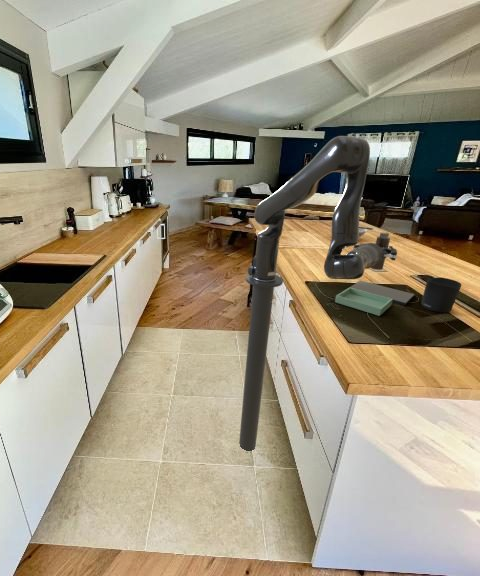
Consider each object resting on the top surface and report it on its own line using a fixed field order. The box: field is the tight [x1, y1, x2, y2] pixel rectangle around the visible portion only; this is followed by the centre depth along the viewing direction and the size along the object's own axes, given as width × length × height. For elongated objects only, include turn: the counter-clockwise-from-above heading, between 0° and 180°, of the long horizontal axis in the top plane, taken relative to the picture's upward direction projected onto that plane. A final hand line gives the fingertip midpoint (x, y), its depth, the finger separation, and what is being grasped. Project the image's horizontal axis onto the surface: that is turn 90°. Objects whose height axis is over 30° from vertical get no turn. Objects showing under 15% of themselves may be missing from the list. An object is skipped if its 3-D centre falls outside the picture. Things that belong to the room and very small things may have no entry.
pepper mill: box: [369, 231, 391, 271], centre depth 110 cm, size 4×4×13 cm
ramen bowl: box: [329, 225, 374, 238], centre depth 209 cm, size 25×23×8 cm
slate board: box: [349, 280, 415, 306], centre depth 123 cm, size 20×12×1 cm, turn 43°
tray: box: [334, 286, 393, 317], centre depth 114 cm, size 15×12×3 cm
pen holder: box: [421, 276, 462, 314], centre depth 110 cm, size 9×9×10 cm
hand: (383, 247), depth 111 cm, fingers closed on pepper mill, 4 cm apart
